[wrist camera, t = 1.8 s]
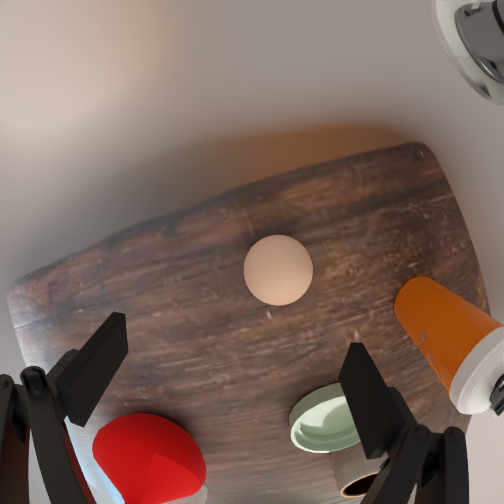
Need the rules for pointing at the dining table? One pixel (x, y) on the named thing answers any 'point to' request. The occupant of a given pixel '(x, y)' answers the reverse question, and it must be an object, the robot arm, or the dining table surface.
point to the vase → (149, 459)
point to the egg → (278, 270)
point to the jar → (192, 498)
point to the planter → (355, 470)
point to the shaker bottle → (455, 343)
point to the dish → (323, 421)
